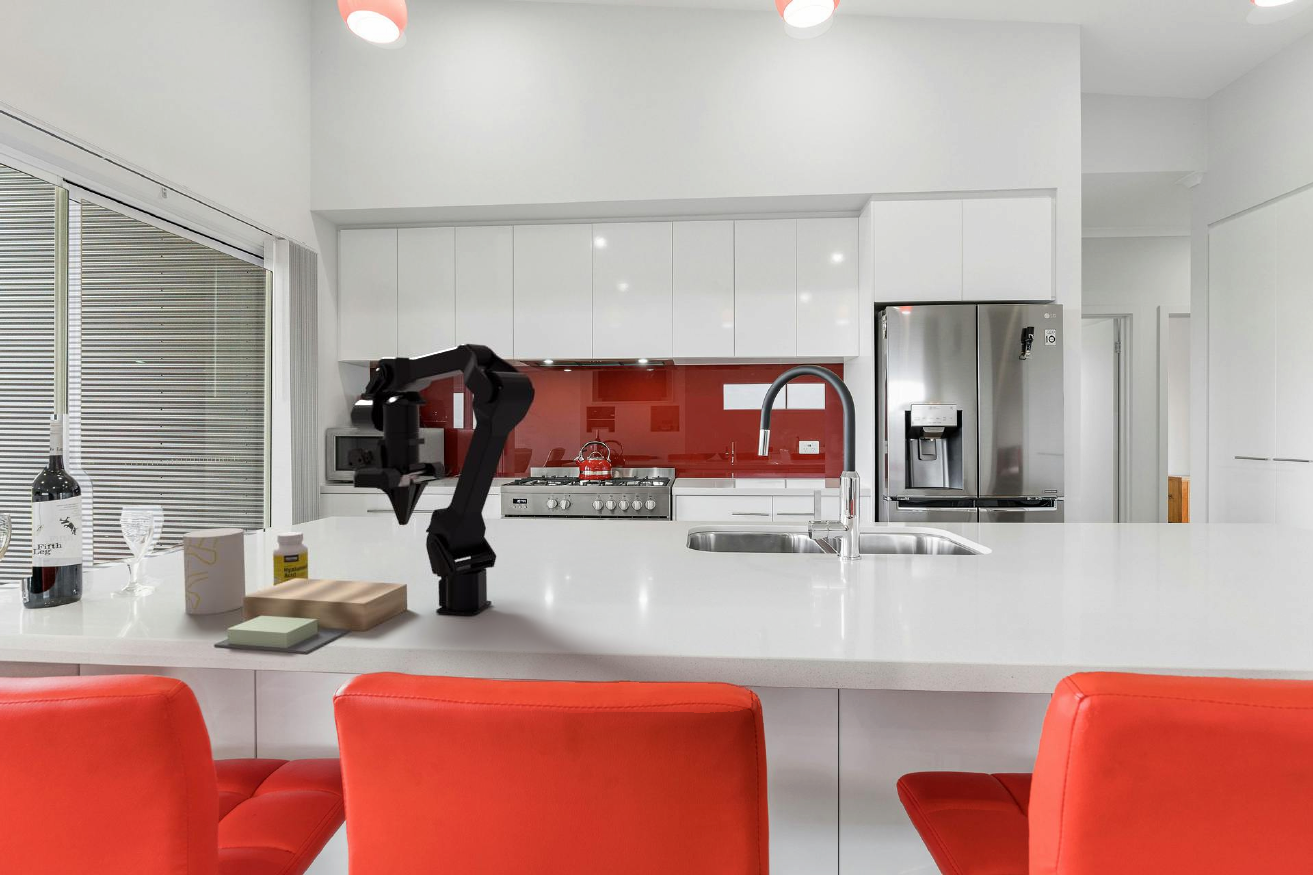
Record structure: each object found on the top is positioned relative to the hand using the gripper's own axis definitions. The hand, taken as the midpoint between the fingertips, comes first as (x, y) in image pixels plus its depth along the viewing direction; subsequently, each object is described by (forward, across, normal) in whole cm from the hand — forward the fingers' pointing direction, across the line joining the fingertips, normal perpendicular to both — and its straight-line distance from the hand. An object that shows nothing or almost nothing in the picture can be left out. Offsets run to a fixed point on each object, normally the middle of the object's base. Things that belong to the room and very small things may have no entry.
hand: (403, 524), depth 117 cm
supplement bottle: (+12, 0, -22) cm, 25 cm away
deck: (+12, +13, -5) cm, 18 cm away
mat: (+12, +24, -4) cm, 27 cm away
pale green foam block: (+10, +24, -5) cm, 27 cm away
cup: (+12, +12, -26) cm, 31 cm away
